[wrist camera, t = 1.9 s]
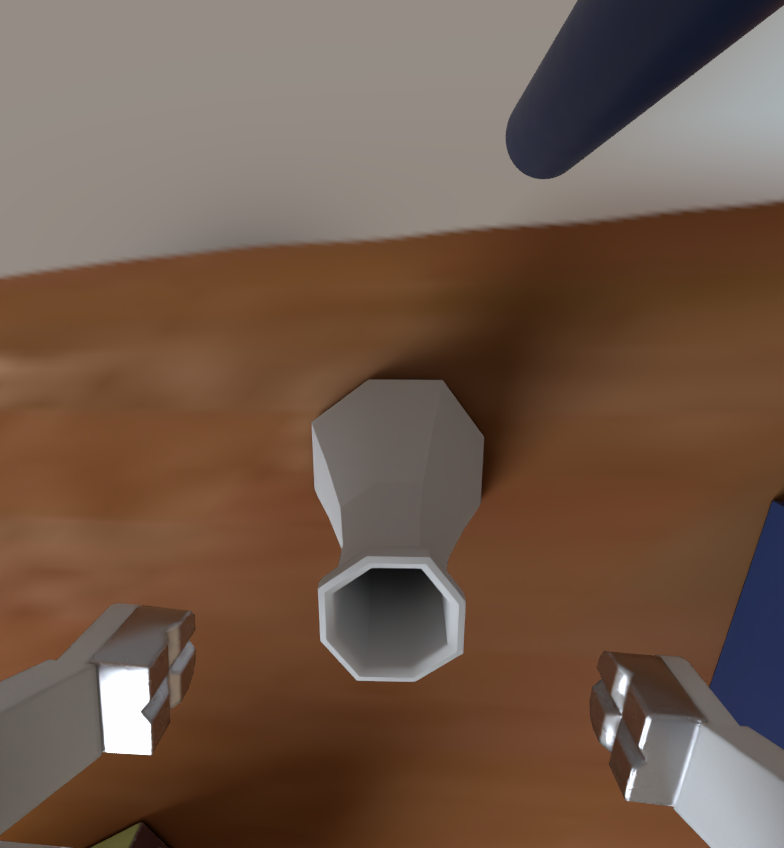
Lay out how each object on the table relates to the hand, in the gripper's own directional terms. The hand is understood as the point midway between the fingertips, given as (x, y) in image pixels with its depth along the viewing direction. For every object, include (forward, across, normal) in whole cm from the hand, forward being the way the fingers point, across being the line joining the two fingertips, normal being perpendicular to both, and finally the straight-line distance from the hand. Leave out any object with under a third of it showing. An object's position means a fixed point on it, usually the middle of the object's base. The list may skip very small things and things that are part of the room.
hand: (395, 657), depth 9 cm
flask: (+11, 0, 0) cm, 11 cm away
